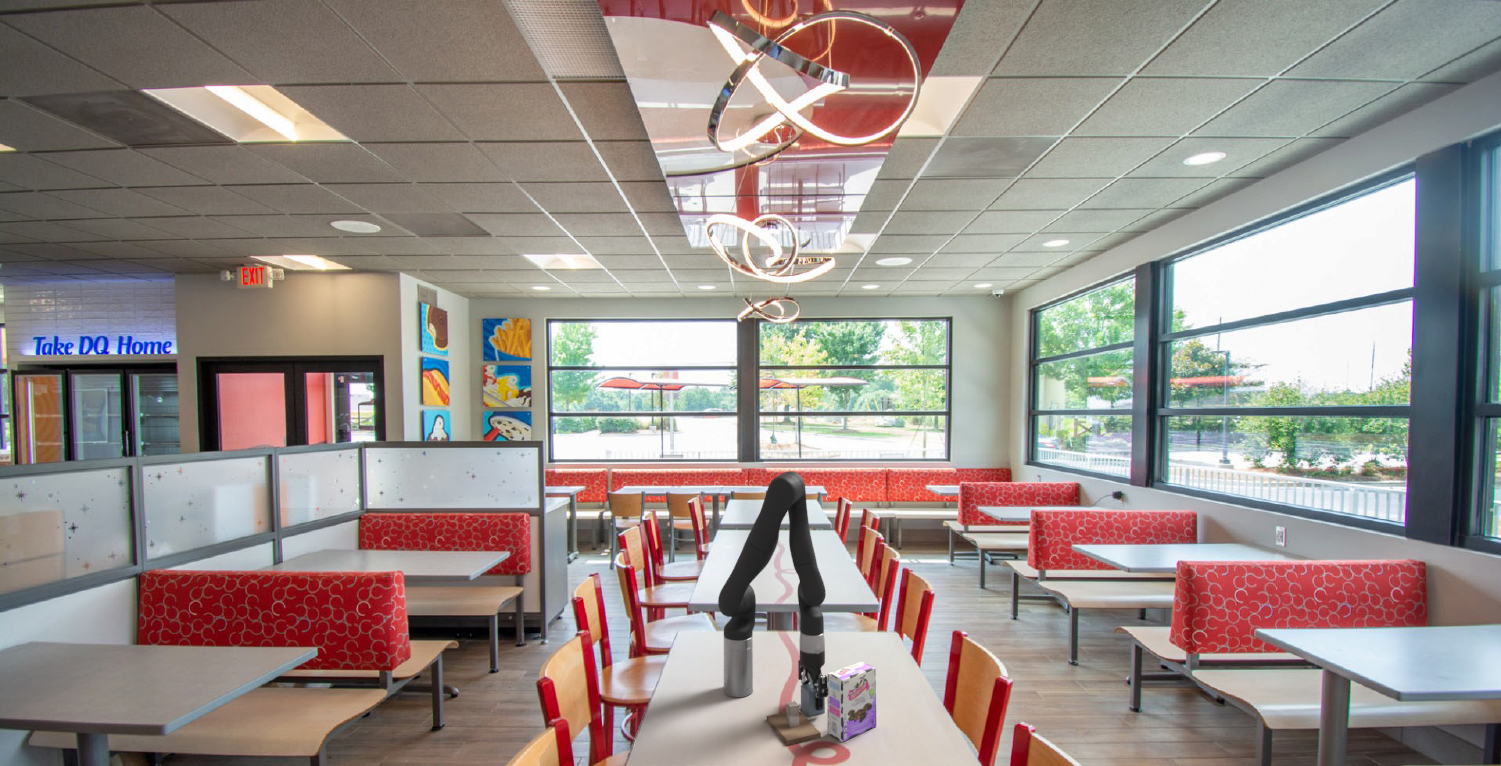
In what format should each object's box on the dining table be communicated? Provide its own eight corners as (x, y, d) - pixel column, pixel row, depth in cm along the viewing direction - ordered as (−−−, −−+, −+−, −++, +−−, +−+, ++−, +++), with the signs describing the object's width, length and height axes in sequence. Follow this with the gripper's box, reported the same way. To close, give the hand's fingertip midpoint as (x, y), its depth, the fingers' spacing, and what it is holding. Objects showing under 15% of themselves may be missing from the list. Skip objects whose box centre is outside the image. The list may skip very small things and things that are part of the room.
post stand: (766, 720, 170) (766, 696, 170) (797, 713, 174) (797, 689, 174) (787, 745, 157) (787, 719, 158) (820, 737, 161) (820, 712, 161)
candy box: (842, 743, 158) (841, 679, 159) (826, 733, 163) (826, 672, 164) (877, 726, 166) (876, 666, 167) (861, 718, 171) (860, 659, 172)
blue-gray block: (800, 707, 177) (800, 685, 178) (816, 704, 179) (816, 682, 179) (809, 716, 172) (808, 692, 173) (824, 712, 174) (824, 689, 175)
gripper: (790, 640, 182) (790, 695, 181) (812, 658, 169) (812, 717, 168) (812, 636, 185) (812, 690, 184) (835, 654, 171) (836, 712, 171)
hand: (812, 703), depth 176 cm, fingers open, 7 cm apart
